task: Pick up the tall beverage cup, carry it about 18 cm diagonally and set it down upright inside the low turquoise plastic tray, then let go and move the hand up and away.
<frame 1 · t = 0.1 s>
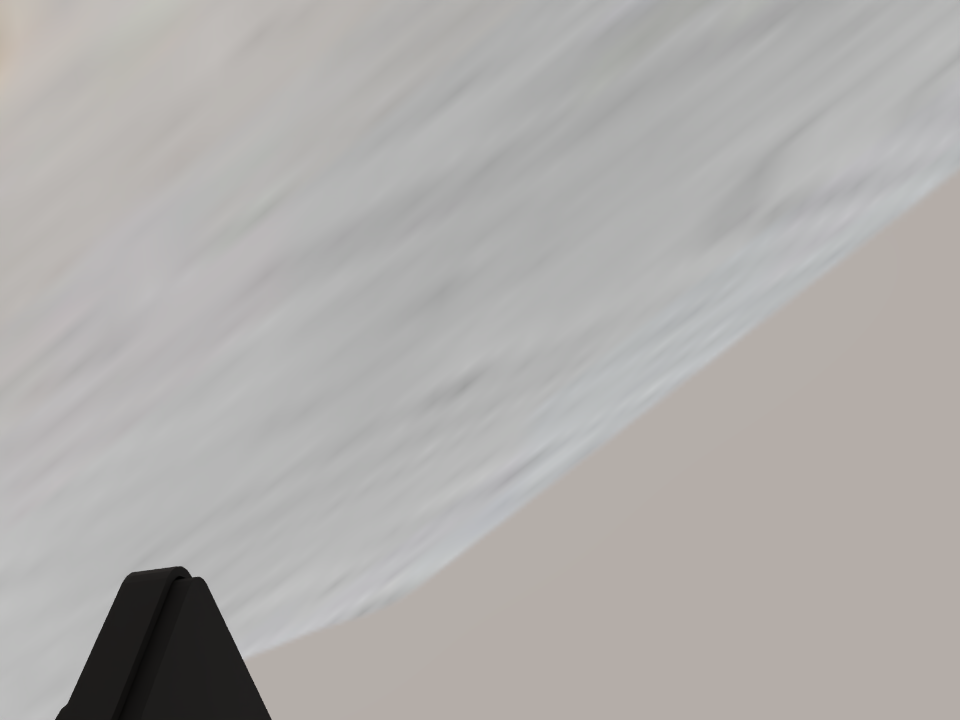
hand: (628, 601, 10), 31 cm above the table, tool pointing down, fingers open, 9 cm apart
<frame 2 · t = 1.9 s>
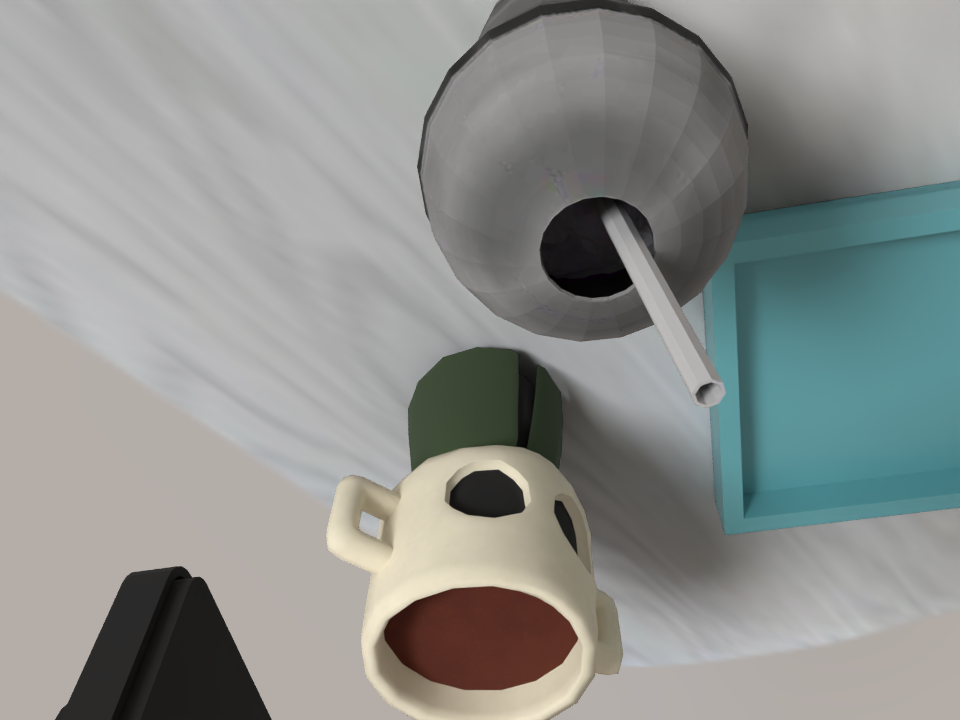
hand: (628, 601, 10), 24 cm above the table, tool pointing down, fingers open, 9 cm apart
beverage cup: (555, 39, 30), on the table
tray: (882, 351, 36), on the table
character mug: (486, 401, 38), on the table
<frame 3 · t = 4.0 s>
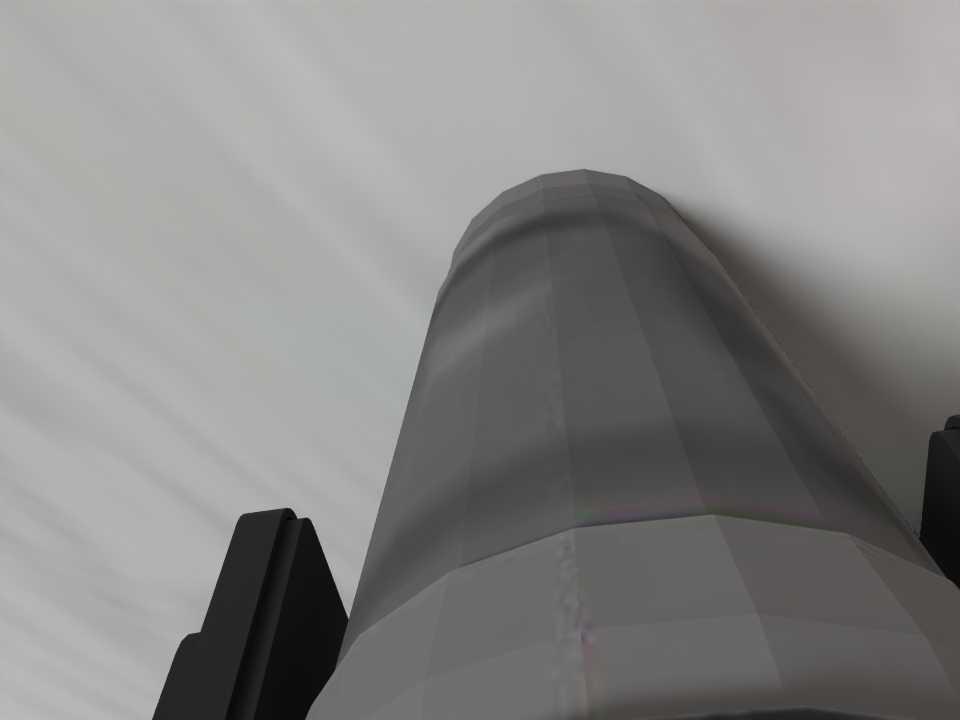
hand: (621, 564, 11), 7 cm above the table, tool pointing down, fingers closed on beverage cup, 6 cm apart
beverage cup: (572, 284, 17), on the table, touching gripper
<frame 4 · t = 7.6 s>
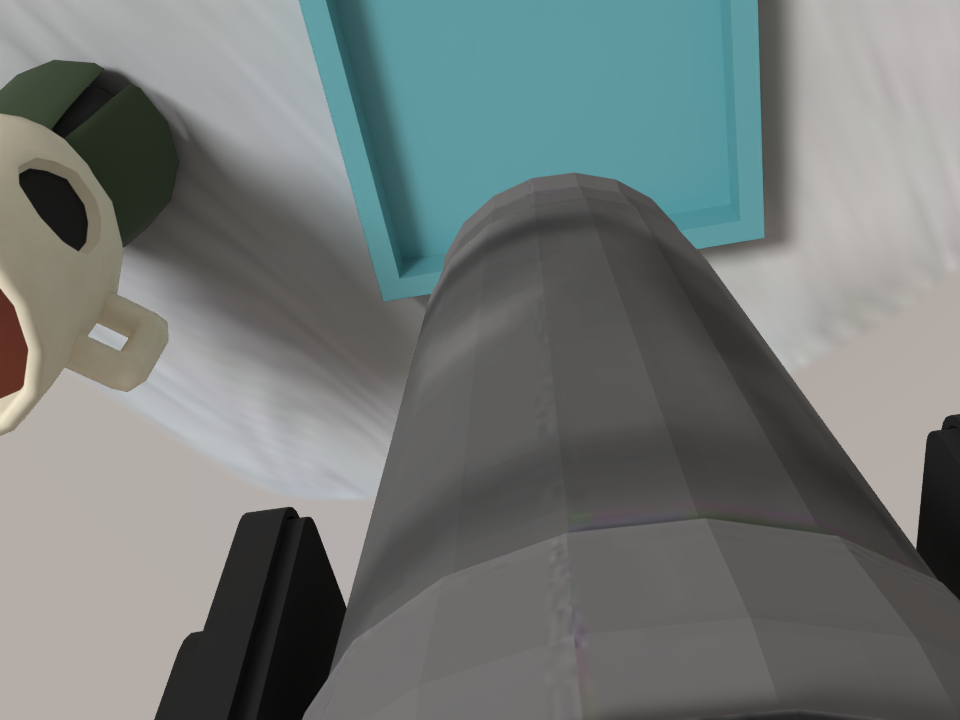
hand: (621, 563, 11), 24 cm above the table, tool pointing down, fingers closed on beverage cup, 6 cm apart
beverage cup: (564, 287, 17), point 17 cm above the table, touching gripper
tray: (537, 63, 31), on the table
character mug: (95, 144, 33), on the table
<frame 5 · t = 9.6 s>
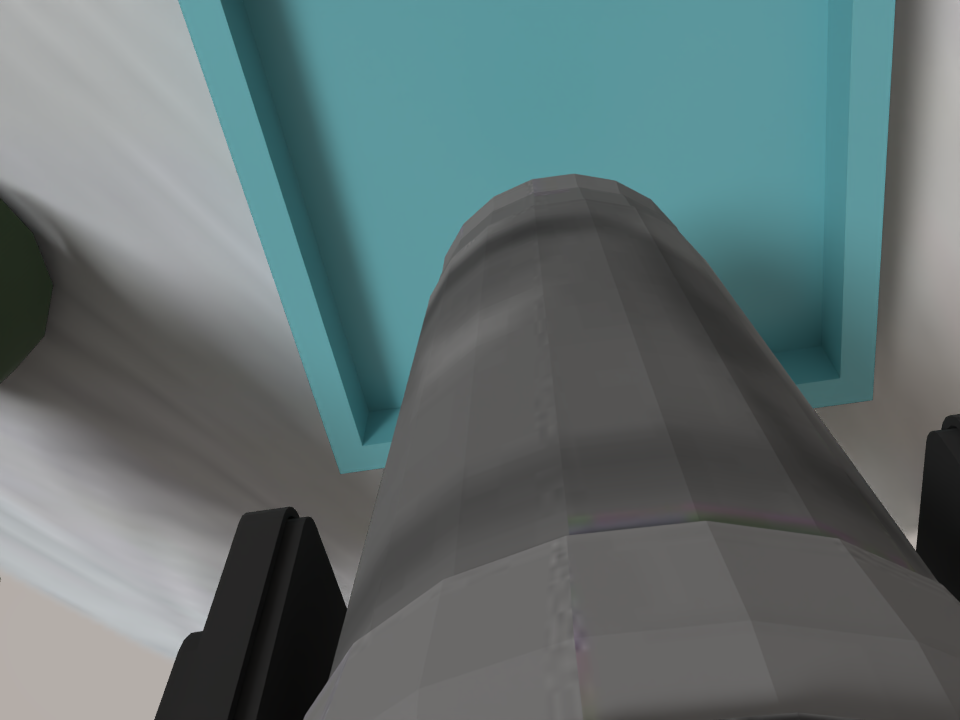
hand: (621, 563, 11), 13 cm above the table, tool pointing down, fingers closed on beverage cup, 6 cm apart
beverage cup: (564, 288, 17), point 6 cm above the table, touching gripper
tray: (557, 156, 22), on the table
when the fingers open (8 cm above the table, at t = 11.2 s): beverage cup moves 1 cm, resting on tray.
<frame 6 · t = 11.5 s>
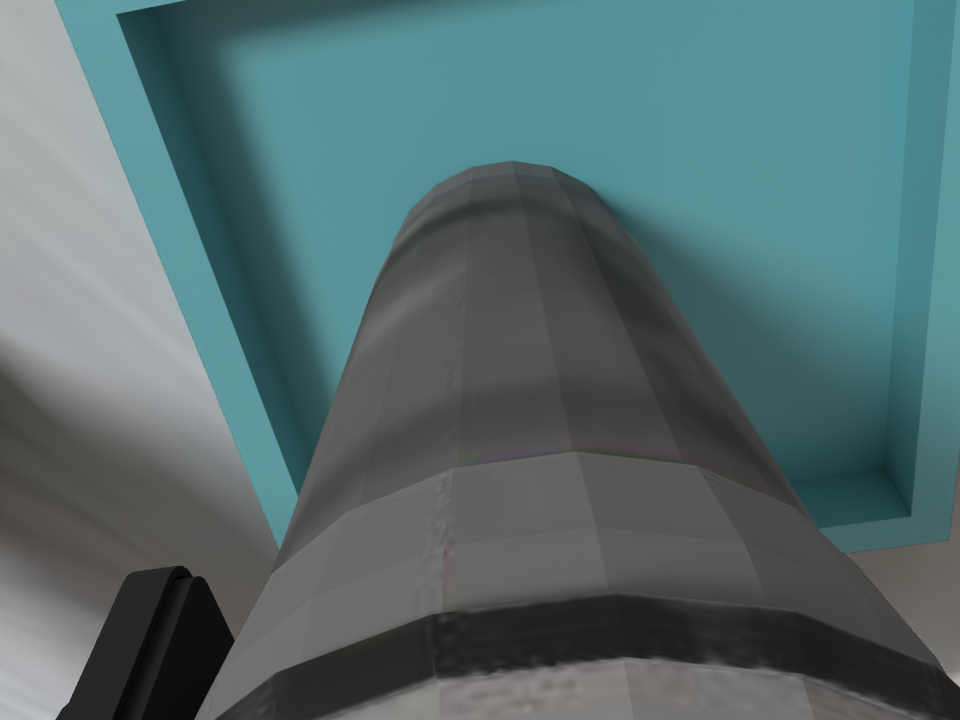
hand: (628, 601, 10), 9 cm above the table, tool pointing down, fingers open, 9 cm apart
beverage cup: (508, 271, 17), resting on tray, touching gripper
tray: (567, 252, 18), on the table
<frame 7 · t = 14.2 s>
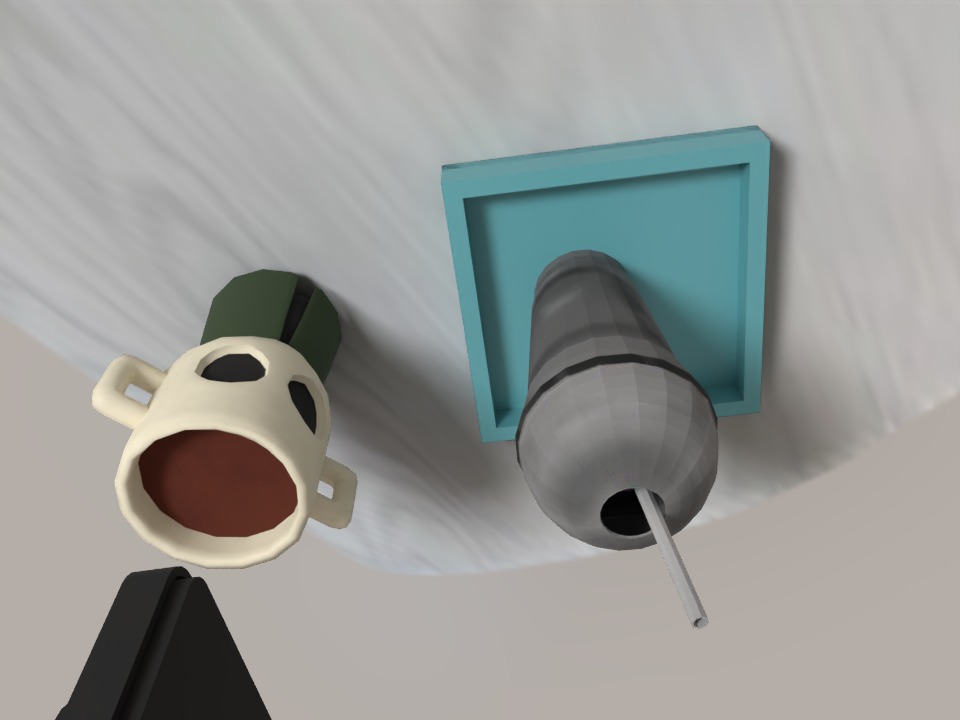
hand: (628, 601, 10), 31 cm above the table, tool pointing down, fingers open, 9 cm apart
beverage cup: (581, 291, 43), resting on tray
tray: (606, 285, 43), on the table
character mug: (278, 320, 44), on the table
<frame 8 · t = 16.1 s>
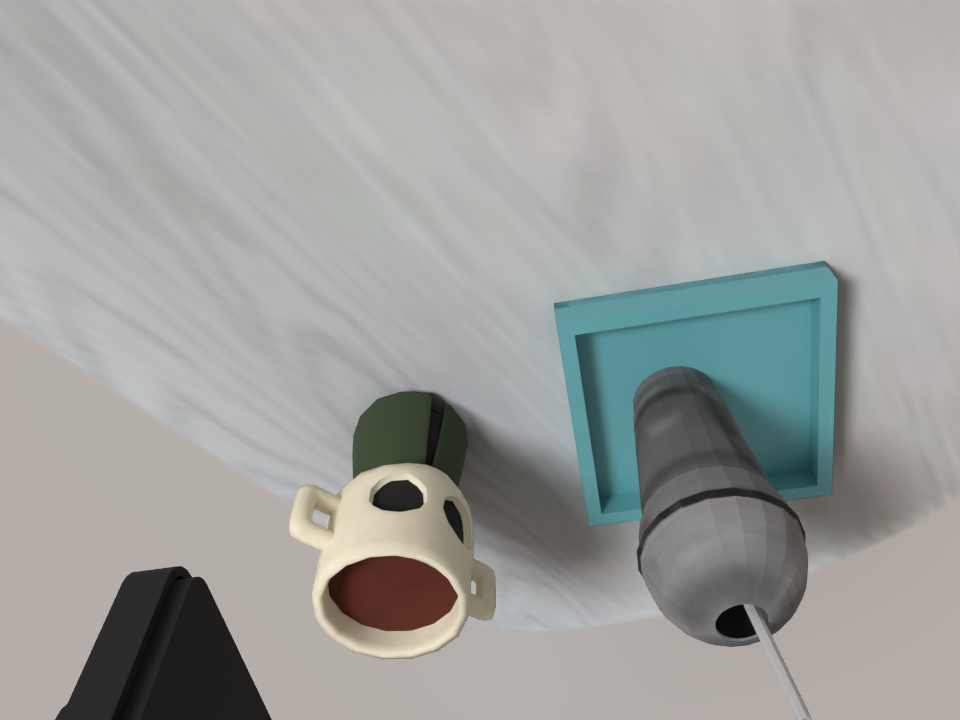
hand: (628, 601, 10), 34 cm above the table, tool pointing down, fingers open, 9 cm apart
beverage cup: (673, 398, 50), resting on tray
tray: (694, 391, 50), on the table
character mug: (411, 429, 52), on the table
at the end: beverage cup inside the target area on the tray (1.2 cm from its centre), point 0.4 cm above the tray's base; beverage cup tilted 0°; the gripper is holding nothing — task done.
